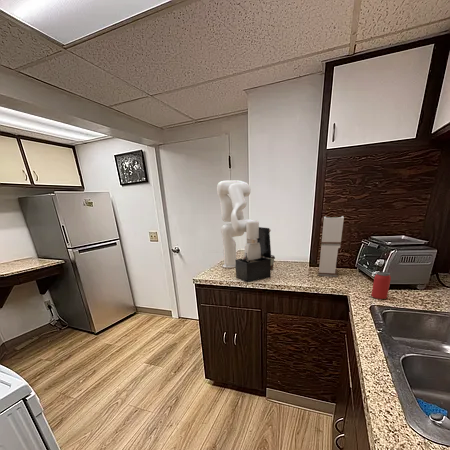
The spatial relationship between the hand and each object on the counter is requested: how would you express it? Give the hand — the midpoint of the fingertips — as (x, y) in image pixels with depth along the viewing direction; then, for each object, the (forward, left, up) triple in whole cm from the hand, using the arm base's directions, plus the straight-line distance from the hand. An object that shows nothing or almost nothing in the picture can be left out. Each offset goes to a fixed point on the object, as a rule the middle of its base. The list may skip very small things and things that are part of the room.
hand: (253, 269), depth 159 cm
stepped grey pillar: (+23, +43, -6) cm, 49 cm away
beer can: (+65, +30, -6) cm, 72 cm away
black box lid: (0, +8, +16) cm, 18 cm away
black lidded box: (0, 0, -6) cm, 6 cm away
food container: (-11, +19, -6) cm, 22 cm away
